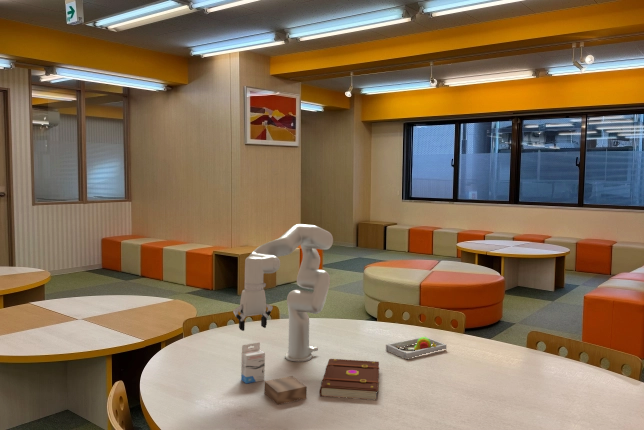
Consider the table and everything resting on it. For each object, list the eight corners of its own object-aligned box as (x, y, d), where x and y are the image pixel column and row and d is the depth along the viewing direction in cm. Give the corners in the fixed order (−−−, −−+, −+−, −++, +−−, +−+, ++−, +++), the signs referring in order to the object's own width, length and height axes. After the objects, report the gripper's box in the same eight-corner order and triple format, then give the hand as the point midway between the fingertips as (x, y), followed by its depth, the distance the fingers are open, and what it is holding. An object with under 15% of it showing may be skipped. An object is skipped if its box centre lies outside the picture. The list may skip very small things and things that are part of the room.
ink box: (246, 384, 213) (246, 348, 212) (240, 380, 217) (241, 345, 216) (265, 380, 218) (265, 345, 217) (259, 376, 222) (259, 341, 221)
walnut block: (291, 388, 211) (292, 375, 211) (306, 399, 201) (306, 386, 201) (264, 393, 205) (264, 381, 205) (277, 405, 195) (278, 392, 195)
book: (379, 371, 232) (379, 360, 232) (378, 401, 201) (378, 388, 200) (327, 367, 235) (327, 356, 234) (318, 397, 203) (319, 384, 203)
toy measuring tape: (436, 354, 254) (436, 340, 253) (395, 350, 258) (396, 337, 257) (436, 349, 260) (436, 336, 260) (396, 346, 264) (396, 333, 264)
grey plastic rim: (424, 342, 272) (424, 336, 272) (446, 350, 260) (446, 344, 260) (385, 350, 258) (385, 344, 258) (406, 359, 246) (406, 353, 245)
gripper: (268, 283, 222) (267, 323, 223) (230, 287, 213) (229, 328, 214) (277, 287, 216) (276, 328, 217) (238, 290, 207) (237, 333, 208)
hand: (252, 328), depth 216 cm, fingers open, 9 cm apart
